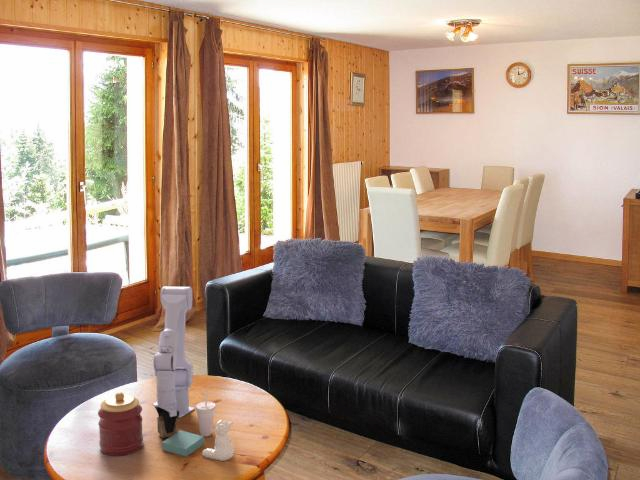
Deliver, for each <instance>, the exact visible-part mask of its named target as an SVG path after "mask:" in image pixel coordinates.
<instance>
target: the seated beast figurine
mask: <svg viewBox="0 0 640 480" xmlns="http://www.w3.org/2000/svg"><path fill="white" fill-rule="evenodd" d="M233 424H234V422H233V421H229V422H228V420H227V419H220V420H219V421H218V420H217V423H216V424H215V426H214V428H213V429H214V430H213V432H214V433H215V434H216V435H215V438H214V446H213V447H214V448H212V447H211V448H210V447H206V448H205V449H203V450H202V453H201V454H202V456H203V457H204V458H205V459H211V460H215V461H220V462H223V461H224V462H225V461H228V460H230V459H231V458H232V457H234V453H235V448H234V446H233V444H232V439H231V437H230V434H229V431H230V428H231V427H232V426H233Z"/></svg>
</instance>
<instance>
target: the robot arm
mask: <svg viewBox="0 0 640 480" xmlns="http://www.w3.org/2000/svg"><path fill="white" fill-rule="evenodd" d="M159 297H160V302H161V305H162V308H163V309H164V310H165V314H164V315H165V316H164V318H165V319H164V329H163V330H162V331H161V332H160V333H159V340H158V344H157V352H156V353H155V354H154V355H153V361H152V362H153V370H154V376H155V377H156V378H155V380H156V381H155V382H156V402H153V404H152V405H153V407H154V408H155V410H156V413H157V414H158V416H157V417H160V416H162V418H163V420H164V424H165V430H166V433H171V432H173V431H174V427H175V422H176V420H178V418H179V419H181V418H183V417H184V416H186V415H188V414H190V413H191V412H192V411H194V410H195V407H193V406H190V399H189V398H190V396H189V395H190V394H189V393H190V392H189V391H190V390H189V388H191V387H192V385H193V382H194V372H193V371H194V370H193V366H194V365H193V364H192V363H191V362H190V361H189V360H187V359H186V358H185V354H186V352H185V351H186V319H187V317H186V316H187V313H188V311H191V310H192V307H193V288H192V287H191V286H190V285H189V286H166V285H165V286H163V287H162V288H161V290H160V296H159Z"/></svg>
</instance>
